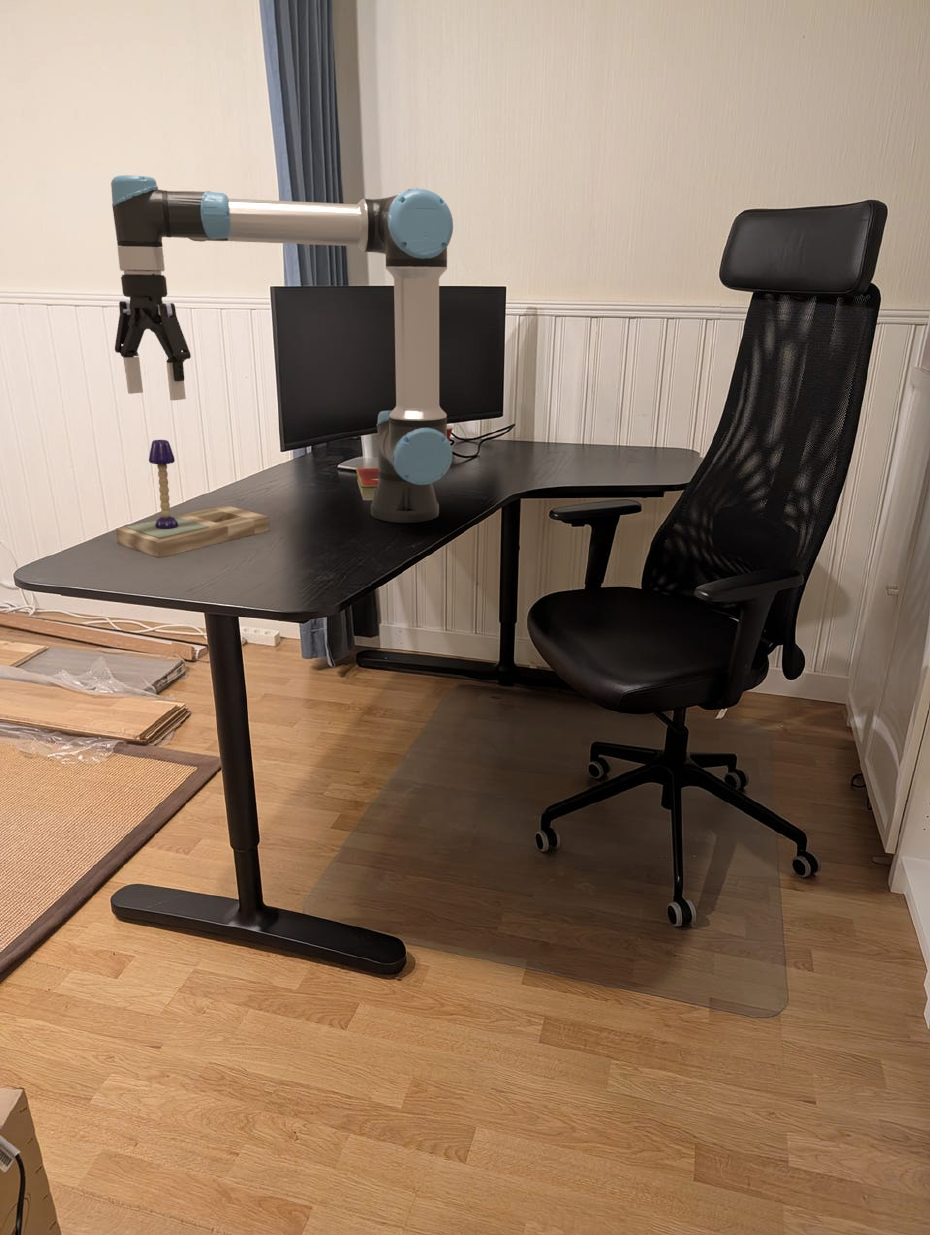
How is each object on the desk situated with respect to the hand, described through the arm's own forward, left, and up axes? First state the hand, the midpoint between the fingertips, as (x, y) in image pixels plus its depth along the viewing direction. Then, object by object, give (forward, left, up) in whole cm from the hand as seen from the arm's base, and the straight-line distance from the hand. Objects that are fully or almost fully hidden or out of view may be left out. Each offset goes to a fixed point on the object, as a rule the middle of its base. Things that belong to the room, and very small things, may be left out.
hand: (156, 396), depth 166 cm
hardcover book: (+2, -62, -29) cm, 69 cm away
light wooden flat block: (0, -6, -28) cm, 29 cm away
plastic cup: (+12, -93, -28) cm, 98 cm away
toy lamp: (0, 0, -25) cm, 25 cm away
